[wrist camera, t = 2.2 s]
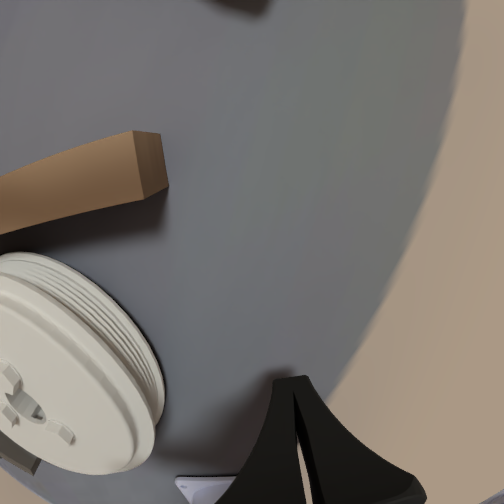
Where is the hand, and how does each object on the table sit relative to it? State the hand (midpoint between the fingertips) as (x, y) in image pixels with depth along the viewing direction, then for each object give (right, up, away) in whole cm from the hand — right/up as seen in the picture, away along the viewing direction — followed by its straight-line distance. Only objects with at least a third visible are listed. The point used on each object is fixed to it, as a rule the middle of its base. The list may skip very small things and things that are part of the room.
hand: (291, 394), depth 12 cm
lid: (-12, 0, +3) cm, 12 cm away
